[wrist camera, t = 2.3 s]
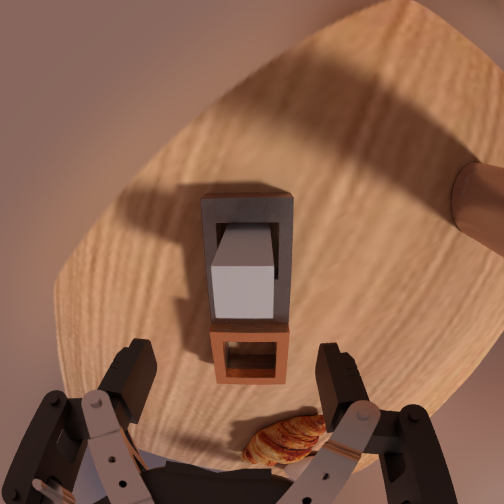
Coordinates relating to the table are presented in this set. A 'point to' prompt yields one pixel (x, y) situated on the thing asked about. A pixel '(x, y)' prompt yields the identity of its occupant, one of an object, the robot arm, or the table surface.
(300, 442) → the croissant
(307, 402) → the table surface
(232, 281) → the peg
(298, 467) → the flower in vase
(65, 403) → the robot arm
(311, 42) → the table surface
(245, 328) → the socket
